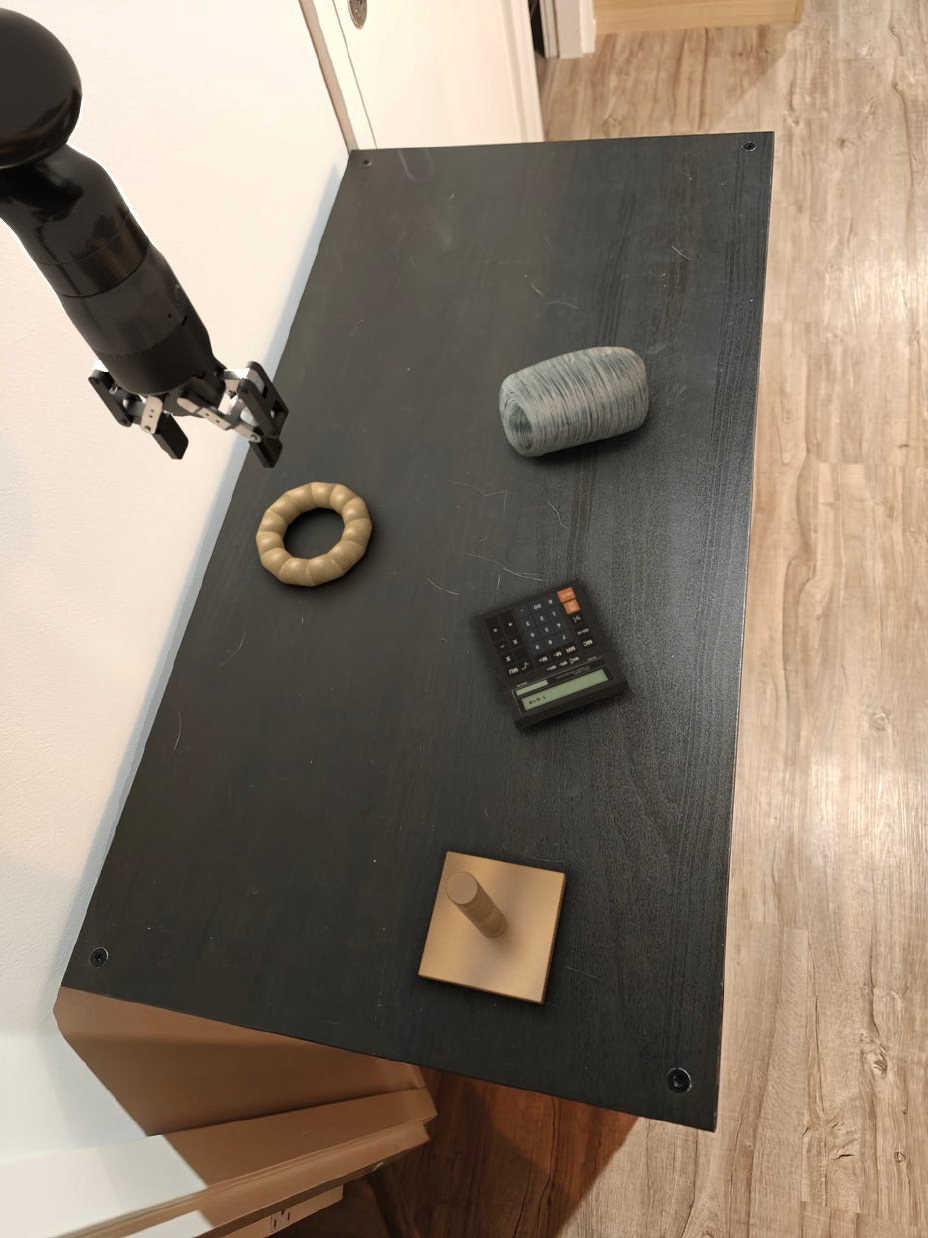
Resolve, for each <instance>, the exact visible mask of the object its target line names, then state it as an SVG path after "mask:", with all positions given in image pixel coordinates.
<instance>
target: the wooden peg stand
mask: <svg viewBox="0 0 928 1238" xmlns="http://www.w3.org/2000/svg"><path fill="white" fill-rule="evenodd" d="M439 880H440V881H439V885H438V889H437V892H436V896H435V897H436V898H435V901H434V906H433V909H432V915H431V919H430V922H429V927H428V931H427V936H426V940H425V943H424V947H423V953H422V956H421V961H420V965H419V970H418V975H419V976H420V977H422V978H425V979H428V980H432V981H437V982H441V983H446V984H450V985H455V986H459V987H463V988H467V989H472V990H476V991H480V992H485V993H488V994H489V993H490V994H494V995H498V996H502V997H506V998H510V999H515V1000H518V1001H519V1000H520V1001H525V1002H529V1003H531V1004H532V1003H533V1004H537V1005H542V1006H543V1005H544V1004H545V1000H546V994H547V988H548V983H549V977H550V971H551V966H552V965H551V964H552V960H553V955H554V949H555V944H556V937H557V931H558V927H559V922H560V917H561V910H562V906H563V905H562V904H563V898H564V892H565V889H566V882H567V877H566V874H565V873H564V872H559V871H553V870H548V869H542V868H538V867H533V866H527V865H522V864H517V863H511V862H507V861H502V860H496V859H491V858H486V857H481V856H475V855H471V854H470V855H469V854H465V853H460V852H454V851H448V850H447V851H446V855H445V859H444V863H443V868H442V872H441V876H440V879H439Z"/></svg>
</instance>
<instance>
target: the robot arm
mask: <svg viewBox="0 0 928 1238" xmlns="http://www.w3.org/2000/svg"><path fill="white" fill-rule="evenodd" d="M82 82H83V81H82V78H81V75H80V72H79V70H78V67H77V64H76V62H75V61H74V59H73V57H72V55H71V54H70V52H69V50H68V49H67V48H66V46H65V45H64V44H63V43H62V41H61V40H60V39H59V38H58V37H57V36H56V35H55V34H54V33H53V32H52V31H51V30H49V29H48V28H47V27H45V26H44V25H43V24H41V23H40V22H39V21H37V20H35V19H33V18H31V17H29V16H27V15H25V14H23V13H21V12H19V11H15V10H12V9H9V8H4V7H0V221H1V223H3V224H4V225H5V227H7V228H8V230H9V231H10V233H11V234H12V235H13V236H14V238H15V240H16V241H17V243H18V244H19V246H20V248H21V249H22V250H23V252H24V253H25V255H26V256H27V258H29V260H30V261H31V263H32V264H33V265H34V267H35V268H36V269H37V271H38V272H39V273H40V275H41V276H42V278H43V279H44V281H46V283H47V285H48V286H49V287H50V289H51V290H52V292H53V293H54V295H55V297H56V298H57V300H58V303H59V304H60V306H61V308H62V310H63V311H64V313H65V315H66V316H67V318H68V320H69V321H70V322H71V324H72V325H73V326H74V327H75V329H76V330H77V331H78V333H79V334H80V336H81V337H82V338H83V340H84V341H85V342H86V344H87V345H88V346H89V348H90V349H91V350H92V352H93V354H95V356H96V357H97V360H96V362H95V364H94V366H93V368H92V370H91V372H90V373H89V375H88V377H87V380H88V382H89V384H90V385H91V387H92V389H94V391H95V393H96V394H97V395H98V397H99V398H100V399H101V401H102V402H103V403H104V406H105V407H106V408H107V409H108V411H109V412H110V414H111V415H112V416H113V418H114V419H115V421H116V422H117V423H118V424H119V425H120V426H122V427H125V428H131V427H132V426H133V425H138V426H139V428H140V429H141V431H142V432H144V433H146V434H149V435H151V436H152V438H153V439H154V441H155V442H156V443H157V444H158V446H159V447H160V448H161V450H163V451H164V452H165V453H166V454H167V455H168V456H169V458H170V459H171V460H179V461H182V460H183V458H184V456H185V453H186V451H187V449H188V447H189V442H190V441H189V438H188V436H187V434H186V433H185V432H184V430H183V429H182V428H181V426H180V425H179V423H178V422H177V421H176V419H175V418H174V417H180V418H183V417H193V418H198V419H205V420H207V421H209V422H210V423H212V424H213V425H215V426H216V427H218V428H220V429H221V430H223V431H224V432H225V431H226V432H228V431H229V430H233V431H234V432H236V433H238V434H239V435H241V436H243V438H246V439H247V440H248V441H247V442H248V444H249V446H250V447H251V449H252V451H253V452H254V455H256V458H257V459H258V460H259V462H260V464H261V465H262V467H263V468H266V469H274V468H275V467H276V464H277V463H278V462H279V460H280V456H281V455H282V452H283V449H284V444H283V442H282V441H281V440H280V436H281V435H282V430H283V428H284V424H285V422H286V420H287V418H288V416H289V414H290V410H289V408H288V406H287V405H286V403H285V402H284V399H283V398H282V397H281V395H280V394H279V392H278V390H277V389H276V387H275V385H274V383H273V382H272V380H271V378H270V377H269V375H268V374H267V372H266V370H265V369H264V367H263V365H262V364H261V363H259V362H258V361H254V360H249V361H247V362H246V365H245V367H244V369H229V368H227V366H226V365H225V364H224V363H222V362H221V361H220V360H219V359H217V357H216V356H215V355H214V351H213V347H212V343H211V337H210V334H209V331H208V328H207V327H206V325H205V324H204V322H203V320H202V319H201V317H200V315H199V313H198V312H197V309H196V308H195V306H194V305H193V303H192V300H191V299H190V298H189V296H188V294H187V293H186V291H185V289H184V287H183V286H182V284H181V282H180V280H179V278H178V277H177V275H176V274H175V271H174V270H173V268H172V266H171V264H170V263H169V262H168V259H167V258H166V257H165V255H164V254H163V253H162V251H161V250H160V248H159V247H158V246H157V245H156V244H155V242H154V241H153V239H151V237H150V236H149V234H148V233H147V231H146V229H145V228H144V226H143V224H142V223H141V220H140V219H139V217H138V216H137V214H136V212H135V211H134V208H133V207H132V206H131V203H130V202H129V200H128V198H127V197H126V195H125V193H124V191H123V190H122V189H121V187H120V186H119V184H118V182H117V181H116V179H115V178H114V176H113V175H112V174H111V172H110V171H109V170H108V169H107V168H106V167H105V166H104V165H103V163H101V162H100V161H99V160H98V159H96V158H95V157H93V156H91V155H90V154H88V153H87V152H84V151H83V150H81V149H79V148H78V147H76V146H75V145H73V144H71V143H70V142H69V141H70V140H71V138H72V137H73V135H75V132H76V131H77V129H78V127H79V124H80V121H81V118H82V114H83V109H84V89H83V83H82ZM225 394H226V395H227V396H228V397H229V400H230V402H229V405H228V407H227V410H226V411H225V412H223V411H222V410H220V409H219V408H220V406H221V404H222V402H223V399H224V398H225V397H224V396H225ZM142 398H143V399H145V402H143V399H142ZM243 412H244V413H246V414H247V415H249V416H251V417H252V418H251V420H250V423H249V422H247V421H245V420H244V419H242V416H241V415H242V413H243Z"/></svg>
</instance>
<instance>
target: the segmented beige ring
mask: <svg viewBox="0 0 928 1238" xmlns="http://www.w3.org/2000/svg"><path fill="white" fill-rule="evenodd" d="M318 508H319V509H329V510H333V511H335V512H336V513H337V514H339V515H340V516H341V517H342V521H343V524H344V529H343V532H342V535H341V539H340V540H339V541H338V542H337V543H336V544H335V545H334V546H333V548H332V549H330V550H329V551H328V552H327V553H324V554H321V555H318V556H316V557H313V558H309V559H308V558H300V557H294V556H293V555H291V554H290V552H288V551H286V548H285V543H284V537H285V535H286V532H287V529H288V526H290V524H292V522H294V521H295V520H296V519H297V518H298V517H299V516H300V515H301V514H304V513H306V512H310V511H312V510H315V509H318ZM372 530H373V524H372V520H371V518H370V514H369V510H368V508H367V504H366V502H365V500H364V499H363V498H362V497H360V496H359V495H358V494H356V493H355V492H354V491H352V490H351V489H349V488H348V487H346V486H345V485H343V484H341V483H332V482H331V483H330V482H320V481H312V482H309V483H307V484H303V485H301V486H298V487H295V488H292V489H289V490H288V491H285V492H284V493H283V494H282V495H280V497H279V498H278V499H276V501H274V502H273V503H272V504H271V505H270V506H269V507H268V508H267V509H266V510H265V511H264V514H263V516H262V519H261V522H260V524H259V527H258V530H257V533H256V534H255V535H256V536H255V542H256V547H257V550H258V551H257V552H258V555H259V556H258V557H259V560H260V563H261V565H262V566H263V567H264V568H265V570H267V571H268V572H269V573H271V574H272V575H273V576H274V577H275V578H277V579H278V580H279V581H280V582H282V583H284V584H288V585H295V586H296V585H297V586H305V587H316V586H319V585H321V584H324V583H327V582H329V581H330V582H331V581H333V580H336V579H339V578H341V577H343V576H344V575H345V574H346V573H348V571H349V570H350V569H351V568H352V567H353V566H354V565H356V563H358V562H359V560H360V559H362V557H363V556H364V555H365V552H366V550H367V546H368V544H369V540H370V537H371V534H372Z"/></svg>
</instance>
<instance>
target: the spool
mask: <svg viewBox="0 0 928 1238" xmlns="http://www.w3.org/2000/svg"><path fill="white" fill-rule="evenodd" d="M646 371H647V370H646V365H645V364H644V361H643V359H642V358H641V357H640V356H639V355H638V354H637V353H635V352H634V351H633V350H632V349H631V348H626V347H622V346H610V345H609V346H595V347H590V348H586V349H581V350H575V351H572V352H567V353H564V354H560V355H558V356H554V357H552V358H549V359H546V360H543V361H540V362H538V363H536V364H533V365H530V366H527V367H525V368H522V369H521V370H519V371H517V372H514V373H511V374H510V375H508V376H507V377H506V378H505V379H504V380H503V382H502V384H501V386H500V390H499V395H498V408H499V416H500V421H501V425H502V428H503V430H504V433H505V436H506V438H507V440H508V443H509V444H510V445H511V446H512V448H513V449H514V450H515V451H516V452H517V453H518V454H519V455H521V456H523V457H525V458H526V457H542V456H543V455H545V454H547V453H552V452H557V451H560V450H563V449H568V448H572V447H576V446H580V445H583V444H587V443H593V442H596V441H597V442H598V441H600V440H604V439H609V438H613V437H614V436H618V435H623V434H626V433H629V432H631V431H634V430H635V429H637V428H640V426H642V425H643V424H644V422H645V419H646V417H647V414H648V411H649V405H650V400H649V385H648V376H647V372H646Z"/></svg>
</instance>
